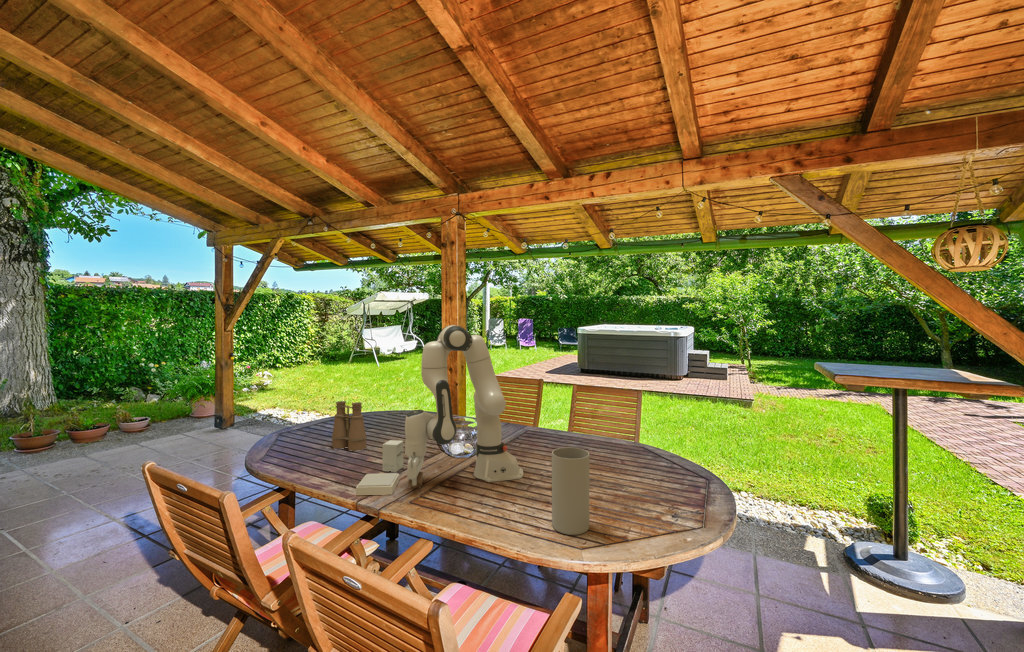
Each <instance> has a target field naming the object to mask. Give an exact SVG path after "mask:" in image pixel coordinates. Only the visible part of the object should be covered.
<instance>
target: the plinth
mask: <svg viewBox="0 0 1024 652" xmlns="http://www.w3.org/2000/svg"><path fill="white" fill-rule="evenodd" d="M398 482H399V483H400V473H398V472H385V473H366V474H365V476H363V478H362V479H361V480H360V482H359V483H358V484H357V486H356V487H355V496H356V495H381V494H392V493H393V494H394V492H395V490H396V489H395V487H396V485H397V483H398ZM399 483H398V484H399ZM397 486H398V485H397ZM396 488H397V487H396ZM394 489H395V490H394ZM393 491H394V492H393ZM393 494H392V495H393Z"/></svg>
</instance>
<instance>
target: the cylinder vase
mask: <svg viewBox="0 0 1024 652" xmlns="http://www.w3.org/2000/svg"><path fill="white" fill-rule="evenodd" d="M551 526H552V528H553V529H554V530H555V531H557V532H559V533H561V534H564V535H568V536H577V535H578V536H579V535H582V534H585V533H586V532H587V531H588V530H589V528H590V452H589V451H588V450H586V449H583V448H579V447H568V446H567V447H558V448H555V449H553V450H552V452H551Z"/></svg>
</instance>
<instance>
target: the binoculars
mask: <svg viewBox="0 0 1024 652" xmlns="http://www.w3.org/2000/svg"><path fill="white" fill-rule="evenodd" d="M346 403H347V401H345V400H340V401H335V404H336V405H335V408H336V414H334V422H333V429H332V435H331V436H330V437H331V439H332V440H331V441H332V442H331V443H332V444H331V445H332V447H334V448H345V447H348V448H347V450H348V449H349V450H352V451H356V450H362V449H364V448H366V449H367V437H368V436H367V433H366V427H365V422H364V415H363V414H362V408H363V406H362V405H363V402H359V401H357V402H356V401H355V402H352V403H351V406H350V405H346ZM350 409H351V410H352V412H351V413H352V415H350ZM332 447H331V448H332Z"/></svg>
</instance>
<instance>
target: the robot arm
mask: <svg viewBox="0 0 1024 652" xmlns="http://www.w3.org/2000/svg"><path fill="white" fill-rule="evenodd" d="M485 341H486V340H485V339H484V337H483V336H481V335H479V334H472V335H471V334H470V333H469V332H468V331H467V330H466V329H465V328H463V327H462V326H459V325H457V324H451V325H447V326H444V327H443V328H441V330H440V332H439V334H438V335H437V336H436V339H435V340H433V341H429V342H427V343H425V344H424V346H423V349H422V354H421V365H420V366H421V378H422V382H423V384H424V385H425V387H426V388H428V390H429V391H430V392H431V393H432V394H433V396H434V399H435V405H436V409H435V410H436V415H435V414H432V413H429V412H427V411H425V410H423V409H415V410H411V411H409V412H407V414H406V415H405V421H404V434H405V435H404V436H405V440H404V455H405V456H407V458H408V460H407V465H406V466H407V469H406V470H407V472H406V473H407V474H406V477H407V480H409V479H412V485H413V486H416V485H417V476H418V474H419V472H421V469H422V467H423V464H424V462H425V461H424V460H425V455H426V454H427V440H428V439H431V440H433V441H435V442H436V443H437V444H439V445H440V446H441V445H442V446H444V445H448V444H450V443H451V442H452V441H454V439H455V437H456V435H457V425H456V423H455V420H454V417H453V407H452V395H451V388H450V385H449V378H448V375H449V374H448V356H449V354H450V353H451V352H452V351H454V352H457V351H458V352H459V351H461V352H462V354H463V356H464V358H465V359H464V360H465V363H466V368H467V370H468V375H469V378H470V381H471V383H472V386H473V388H474V390H475V391H474V393H473V403H474V414H475V421H476V443H475V457H476V459H475V460H476V461H475V466H474V467H475V468H474V471H473V477H475V478H477V479H479V480H483V481H485V482H488V483H493V482H501V481H503V482H505V481H512V480H521V479H522V478H524V469H523V468H522V467H521V466H519V463H518V459H517V458H516V457H515V456H514V455H513V454H511V453H510V452H508V447H507V445H506V443H505V442H503V441H502V423H501V420H500V419H501V418H500V415H501V414H502V413H504V411H505V410H506V407H507V401H506V398H505V397H504V394H503V391H502V388H501V385H500V383H499V381H498V378H497V375H496V373H495V370H494V366H493V363H492V358H491V354H490V352H489V349H488V346H487V344H486V342H485Z"/></svg>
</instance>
